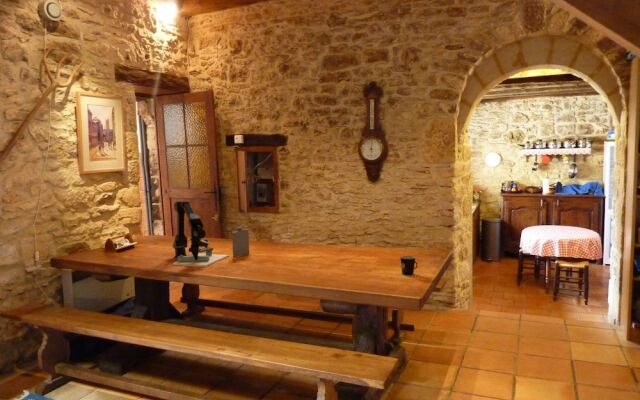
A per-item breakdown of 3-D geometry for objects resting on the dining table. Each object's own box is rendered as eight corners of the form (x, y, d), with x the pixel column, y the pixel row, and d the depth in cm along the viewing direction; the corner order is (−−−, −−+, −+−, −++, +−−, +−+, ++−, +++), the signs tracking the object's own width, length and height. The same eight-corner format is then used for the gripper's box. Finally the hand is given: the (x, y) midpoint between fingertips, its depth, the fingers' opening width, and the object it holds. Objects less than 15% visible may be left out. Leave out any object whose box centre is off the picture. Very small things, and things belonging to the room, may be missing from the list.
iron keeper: (200, 258, 331) (200, 251, 331) (194, 257, 335) (194, 250, 334) (213, 255, 340) (213, 248, 340) (207, 254, 344) (207, 247, 343)
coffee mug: (398, 272, 289) (398, 256, 288) (413, 272, 289) (413, 255, 288) (403, 277, 277) (403, 260, 276) (418, 277, 278) (418, 259, 277)
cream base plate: (172, 265, 318) (172, 263, 318) (198, 255, 347) (198, 253, 347) (205, 267, 311) (205, 265, 310) (228, 256, 340) (228, 255, 340)
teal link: (177, 262, 320) (177, 256, 319) (179, 260, 324) (178, 254, 324) (208, 261, 320) (208, 255, 320) (209, 259, 325) (209, 253, 324)
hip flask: (235, 257, 336) (234, 229, 334) (231, 257, 338) (230, 228, 336) (250, 253, 350) (249, 225, 348) (245, 252, 352) (244, 225, 350)
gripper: (205, 238, 310) (206, 262, 311) (209, 234, 328) (210, 257, 329) (188, 239, 309) (188, 263, 310) (193, 234, 327) (194, 257, 328)
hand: (196, 260), depth 319 cm, fingers closed
